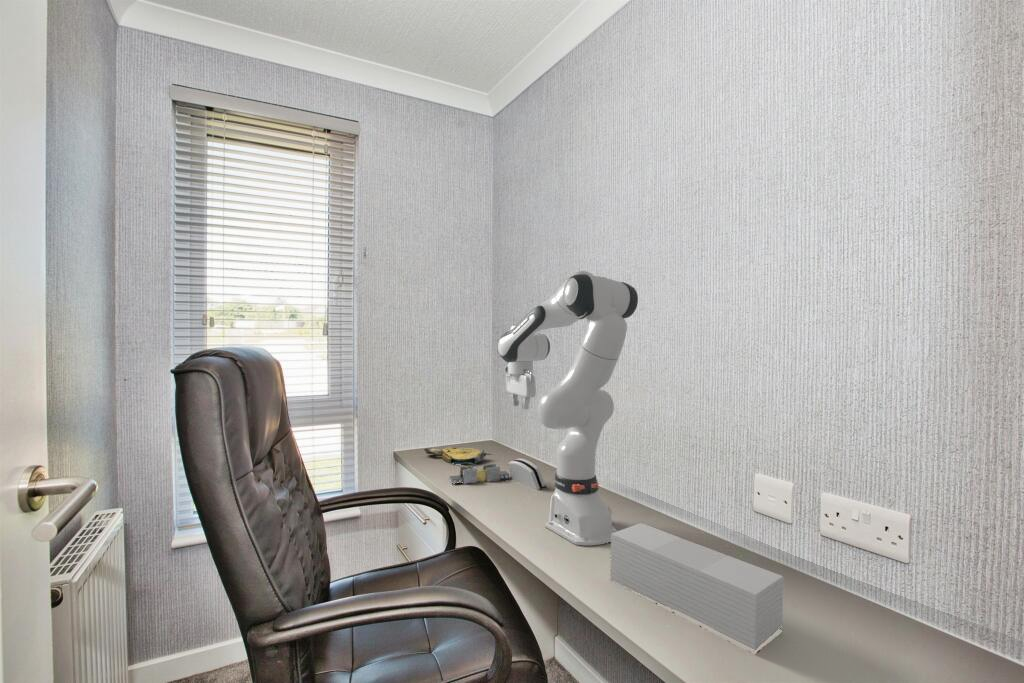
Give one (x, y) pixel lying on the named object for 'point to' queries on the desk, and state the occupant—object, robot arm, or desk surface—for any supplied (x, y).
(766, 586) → the stack of papers
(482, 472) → the brass block with peg
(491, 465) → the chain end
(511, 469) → the grey half-round block
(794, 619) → the desk surface
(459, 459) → the pulley block
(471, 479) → the chain end
